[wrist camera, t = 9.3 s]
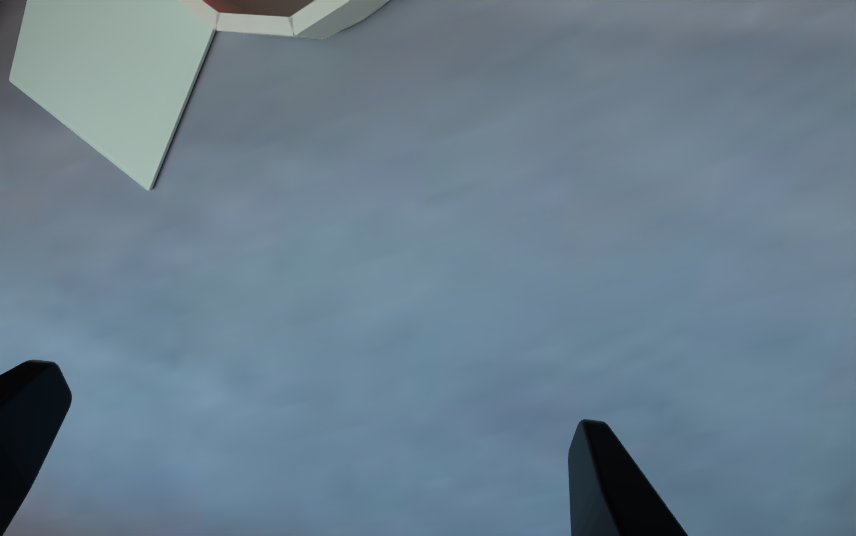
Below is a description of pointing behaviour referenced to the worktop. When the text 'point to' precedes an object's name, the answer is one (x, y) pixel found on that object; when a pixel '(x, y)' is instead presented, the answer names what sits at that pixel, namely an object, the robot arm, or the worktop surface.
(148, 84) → the mat
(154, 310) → the worktop surface
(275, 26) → the bowl
